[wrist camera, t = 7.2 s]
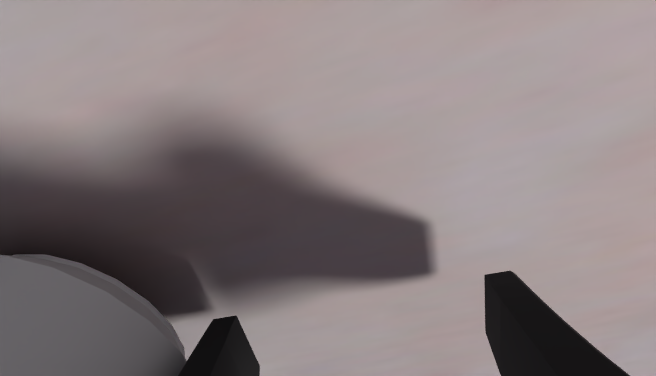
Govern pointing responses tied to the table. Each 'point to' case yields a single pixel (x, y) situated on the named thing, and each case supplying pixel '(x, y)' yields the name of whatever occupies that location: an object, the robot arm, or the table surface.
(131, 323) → the can
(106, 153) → the table surface
